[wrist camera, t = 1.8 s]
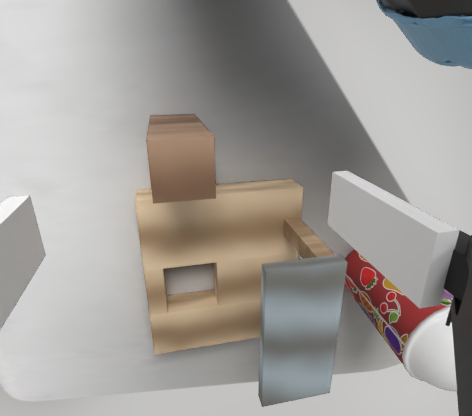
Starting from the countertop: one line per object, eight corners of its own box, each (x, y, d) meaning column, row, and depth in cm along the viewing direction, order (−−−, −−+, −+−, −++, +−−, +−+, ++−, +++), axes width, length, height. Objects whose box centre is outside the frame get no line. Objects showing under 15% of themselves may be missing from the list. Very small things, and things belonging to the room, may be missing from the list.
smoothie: (329, 297, 43) (453, 461, 25) (333, 240, 40) (479, 380, 22) (388, 286, 45) (545, 434, 27) (396, 230, 41) (581, 354, 23)
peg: (150, 115, 31) (146, 139, 20) (194, 113, 31) (214, 136, 20) (154, 158, 32) (153, 203, 21) (196, 156, 33) (216, 198, 22)
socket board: (136, 190, 33) (125, 250, 22) (292, 178, 36) (352, 226, 25) (155, 335, 40) (153, 437, 29) (284, 315, 43) (328, 400, 32)
